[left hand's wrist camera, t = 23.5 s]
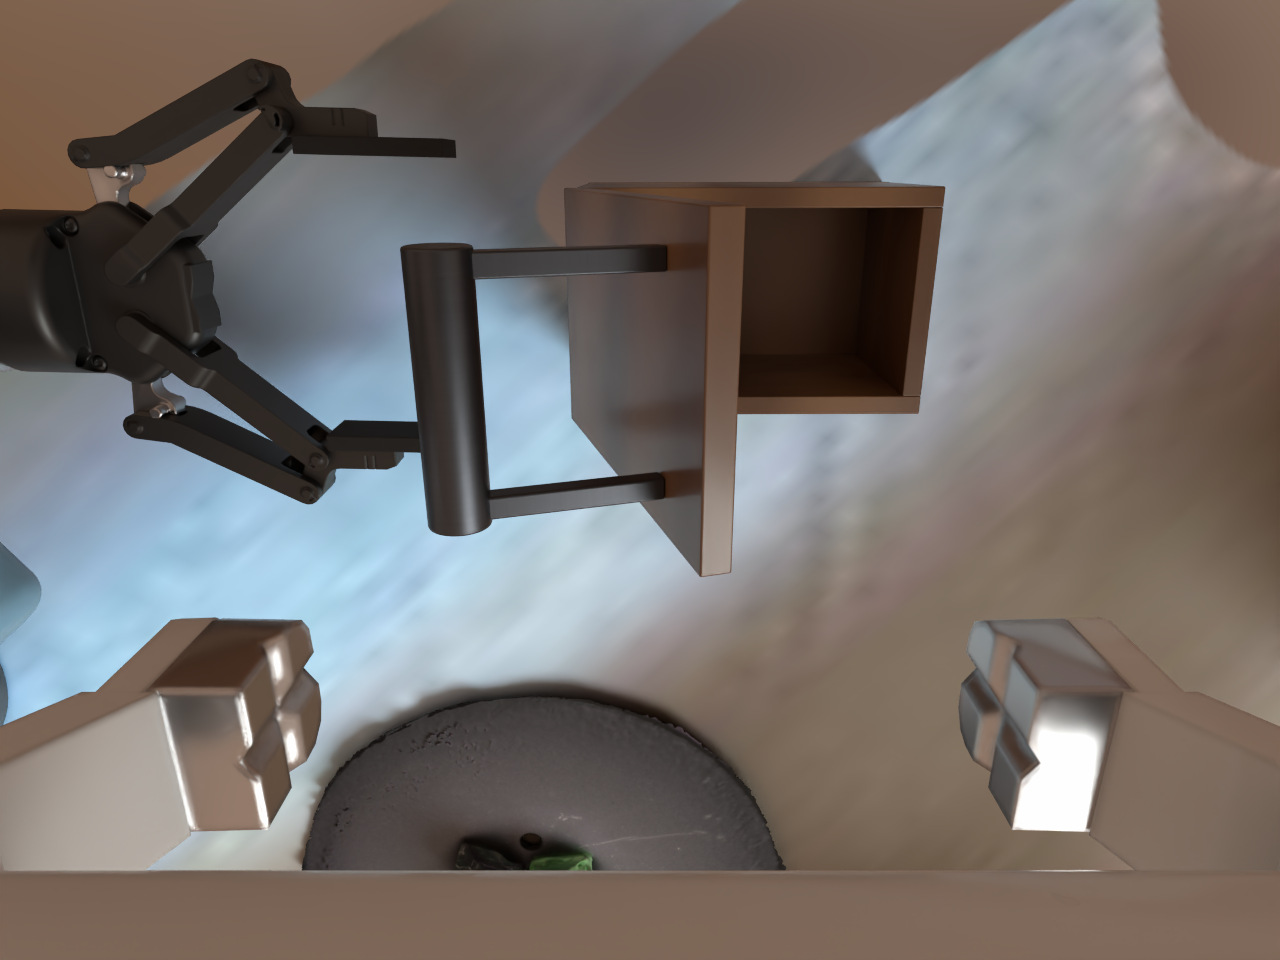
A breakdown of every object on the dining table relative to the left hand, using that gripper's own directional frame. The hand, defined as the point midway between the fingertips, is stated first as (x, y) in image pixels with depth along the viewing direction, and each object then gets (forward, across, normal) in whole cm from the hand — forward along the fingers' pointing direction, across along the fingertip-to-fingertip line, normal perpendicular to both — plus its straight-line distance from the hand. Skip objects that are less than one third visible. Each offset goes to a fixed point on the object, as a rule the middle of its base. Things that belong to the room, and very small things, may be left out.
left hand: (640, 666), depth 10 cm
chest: (+38, -5, 0) cm, 38 cm away
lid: (+20, 0, 0) cm, 20 cm away
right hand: (+31, +9, 0) cm, 33 cm away
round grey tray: (+38, +7, +44) cm, 59 cm away
